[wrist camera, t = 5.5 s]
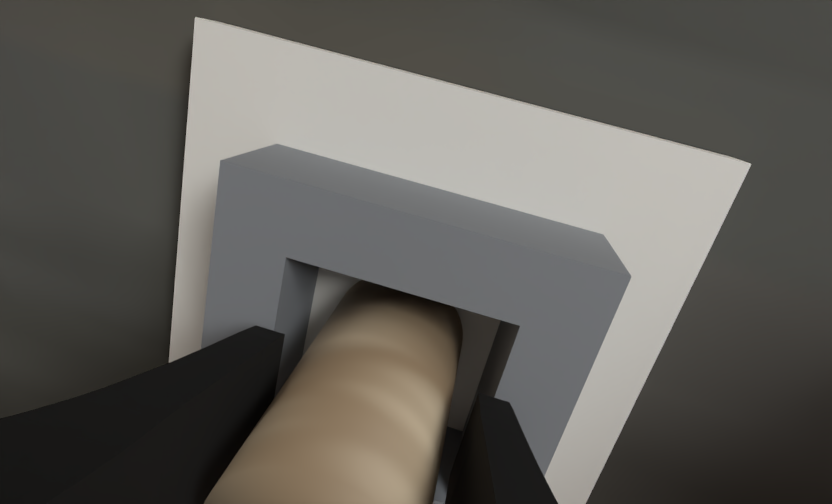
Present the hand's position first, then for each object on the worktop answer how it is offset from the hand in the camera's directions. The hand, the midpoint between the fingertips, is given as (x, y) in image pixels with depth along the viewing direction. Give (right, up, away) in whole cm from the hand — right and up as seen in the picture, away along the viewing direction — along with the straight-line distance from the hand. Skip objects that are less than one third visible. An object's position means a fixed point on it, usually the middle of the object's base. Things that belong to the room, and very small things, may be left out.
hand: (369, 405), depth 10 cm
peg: (0, +1, +3) cm, 3 cm away
